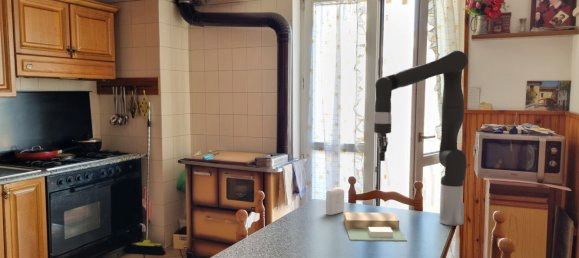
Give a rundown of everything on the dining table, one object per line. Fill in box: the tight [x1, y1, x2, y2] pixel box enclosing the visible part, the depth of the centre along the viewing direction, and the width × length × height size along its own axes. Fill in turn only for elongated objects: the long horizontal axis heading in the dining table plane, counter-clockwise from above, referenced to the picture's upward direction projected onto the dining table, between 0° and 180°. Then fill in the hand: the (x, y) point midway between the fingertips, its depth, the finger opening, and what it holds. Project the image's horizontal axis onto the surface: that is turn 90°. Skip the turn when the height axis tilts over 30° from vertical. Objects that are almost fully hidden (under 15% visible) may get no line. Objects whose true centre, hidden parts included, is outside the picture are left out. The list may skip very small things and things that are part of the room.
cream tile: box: [368, 227, 393, 237], centre depth 176 cm, size 9×6×2 cm, turn 88°
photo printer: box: [325, 186, 345, 216], centre depth 208 cm, size 10×4×12 cm, turn 134°
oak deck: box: [343, 211, 400, 230], centre depth 189 cm, size 22×12×4 cm, turn 88°
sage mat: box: [346, 229, 408, 242], centre depth 176 cm, size 22×13×1 cm, turn 88°
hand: (382, 160), depth 195 cm, fingers closed
